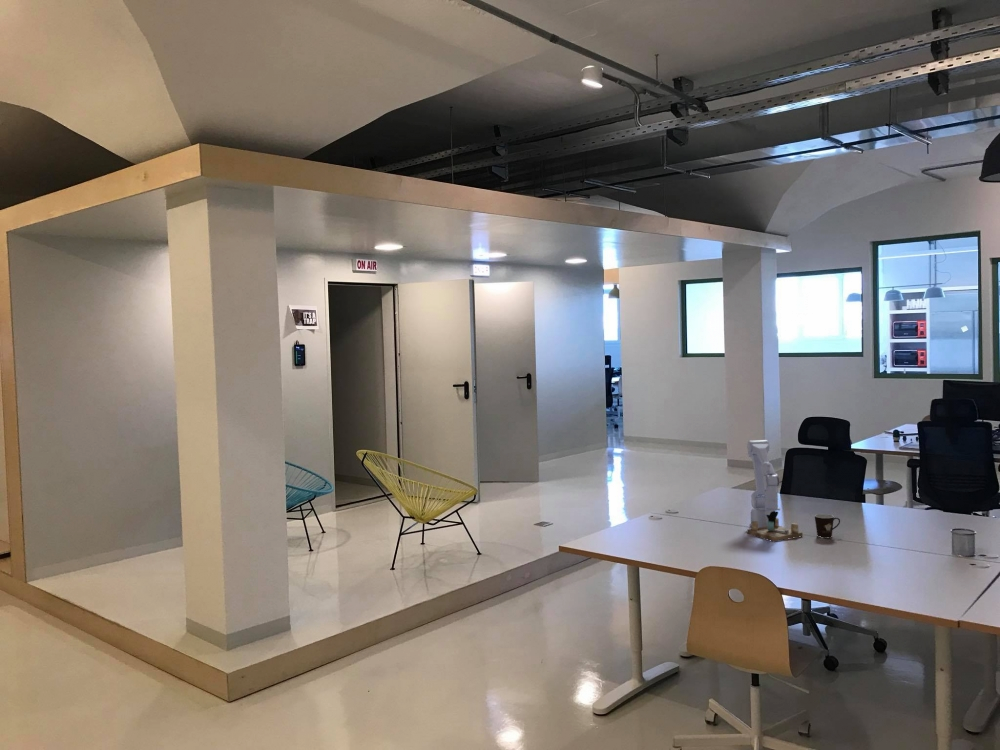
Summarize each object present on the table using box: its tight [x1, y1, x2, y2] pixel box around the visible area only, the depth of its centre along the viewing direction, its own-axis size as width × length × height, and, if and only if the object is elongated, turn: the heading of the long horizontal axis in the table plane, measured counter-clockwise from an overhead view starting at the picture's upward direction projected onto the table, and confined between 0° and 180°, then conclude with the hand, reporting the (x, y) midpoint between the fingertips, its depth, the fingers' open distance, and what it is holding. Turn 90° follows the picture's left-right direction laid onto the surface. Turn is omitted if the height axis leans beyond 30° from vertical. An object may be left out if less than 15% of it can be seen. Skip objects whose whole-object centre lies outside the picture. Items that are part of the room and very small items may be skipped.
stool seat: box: [746, 517, 803, 542], centre depth 374 cm, size 18×18×6 cm
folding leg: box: [767, 521, 789, 533], centre depth 372 cm, size 10×3×4 cm, turn 46°
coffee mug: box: [814, 513, 841, 538], centre depth 368 cm, size 12×9×10 cm
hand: (772, 526), depth 376 cm, fingers closed, pressing on folding leg
